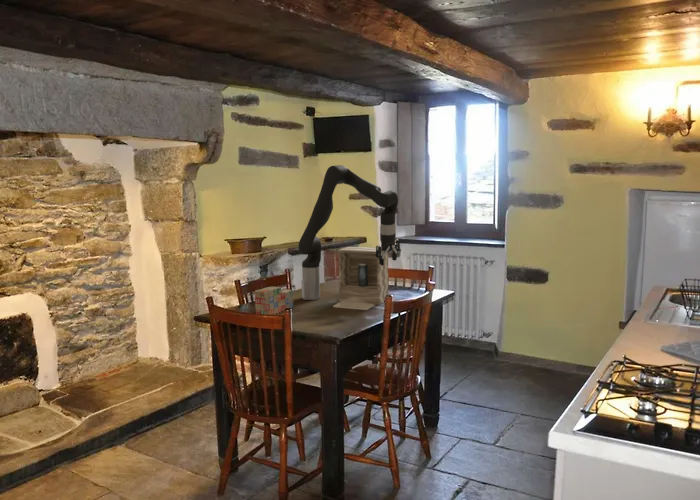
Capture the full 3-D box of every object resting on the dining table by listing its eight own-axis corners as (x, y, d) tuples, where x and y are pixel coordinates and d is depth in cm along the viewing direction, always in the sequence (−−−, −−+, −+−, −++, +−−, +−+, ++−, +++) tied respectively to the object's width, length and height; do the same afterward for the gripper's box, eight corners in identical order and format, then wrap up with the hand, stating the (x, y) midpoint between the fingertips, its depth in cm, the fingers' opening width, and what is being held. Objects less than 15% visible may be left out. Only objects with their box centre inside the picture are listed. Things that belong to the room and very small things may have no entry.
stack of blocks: (283, 307, 287) (283, 282, 285) (293, 308, 284) (293, 284, 282) (255, 316, 269) (254, 290, 267) (265, 317, 266) (264, 291, 264)
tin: (360, 287, 294) (359, 264, 292) (357, 285, 299) (356, 262, 297) (369, 286, 295) (369, 263, 294) (366, 284, 300) (366, 262, 299)
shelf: (380, 305, 288) (379, 251, 284) (338, 301, 296) (337, 250, 293) (389, 299, 301) (389, 248, 298) (349, 296, 310) (348, 246, 307)
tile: (366, 309, 277) (366, 308, 277) (333, 307, 284) (333, 305, 284) (374, 305, 288) (374, 303, 287) (341, 302, 294) (341, 301, 294)
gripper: (392, 226, 282) (393, 256, 288) (371, 233, 274) (372, 264, 280) (403, 230, 277) (403, 260, 283) (382, 237, 268) (382, 268, 275)
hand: (388, 262), depth 281 cm, fingers open, 8 cm apart
